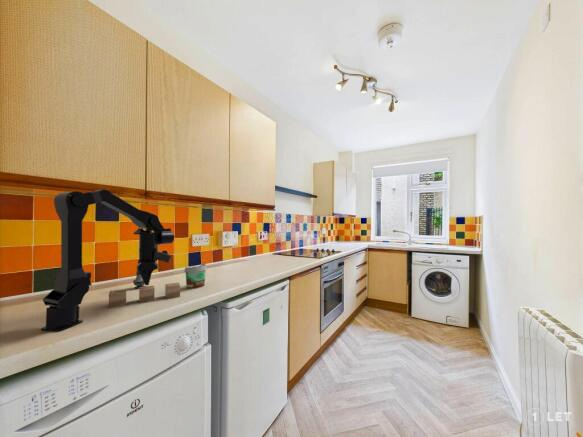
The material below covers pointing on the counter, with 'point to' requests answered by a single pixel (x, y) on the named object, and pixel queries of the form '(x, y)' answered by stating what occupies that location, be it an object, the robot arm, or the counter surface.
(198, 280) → the food container
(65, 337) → the counter surface
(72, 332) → the counter surface
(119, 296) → the walnut block numbered 7
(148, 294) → the plain walnut block
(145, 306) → the counter surface
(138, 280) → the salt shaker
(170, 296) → the walnut block numbered 1
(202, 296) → the counter surface
